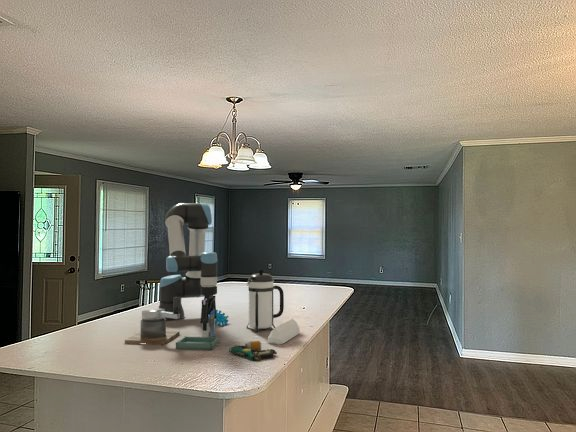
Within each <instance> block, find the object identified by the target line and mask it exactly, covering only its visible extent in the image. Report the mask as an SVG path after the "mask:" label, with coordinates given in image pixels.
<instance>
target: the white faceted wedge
mask: <svg viewBox="0 0 576 432" xmlns="http://www.w3.org/2000/svg"><path fill="white" fill-rule="evenodd" d="M299 334H300V327H299V324H298V322H297V321H296V320H295V319H293V318H291V319H289V320H287V321H285V322H283V323H281V324H280V325H278V326H275V328H274V327H273V330H272V329H271V331H270V333H269V335H268V337H267V343H268V344H271V345H272V344H273V345H282V344H285V343H286V342H288V341H289V340H291V339H293V338H294V337H296V336H297V335H299Z"/></svg>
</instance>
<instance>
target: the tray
mask: <svg viewBox="0 0 576 432" xmlns="http://www.w3.org/2000/svg"><path fill="white" fill-rule="evenodd" d="M219 344H220V337H216V336H213V337H202V336H183V337H182V338H181V339H179V340H177V341H176V342H175V349H176V350H201V351H214V349H215V348H216V347H217V346H218V345H219Z"/></svg>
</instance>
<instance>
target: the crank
mask: <svg viewBox="0 0 576 432" xmlns="http://www.w3.org/2000/svg"><path fill="white" fill-rule="evenodd" d="M165 317H167V318H174V319H176V320H180V319H179V318H180V313H179V297H173V313H172V312H165V309H160V308H159V307H157V308H156V307H155V308H153V307H152V308H146V309H142V310H141V320H142V321H145V322H155V321H161V320H164V319H165Z"/></svg>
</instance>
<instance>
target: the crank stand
mask: <svg viewBox="0 0 576 432" xmlns="http://www.w3.org/2000/svg"><path fill="white" fill-rule="evenodd" d="M179 335H181V332H180V330H175V331H174V330H167V320H166V319H164V320H161V321H155V322H145V321H142V319H140V331H139V332H137V333H135V334H133V335H131V336H130V337H128V338H126V339H124V344H125V343H146V344H145V345H154V344H165V345H166V344H168V343H169V342H171V341H173V340H174V339H175V338H177V337H178V336H179ZM170 340H171V341H170ZM167 342H168V343H167Z"/></svg>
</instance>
